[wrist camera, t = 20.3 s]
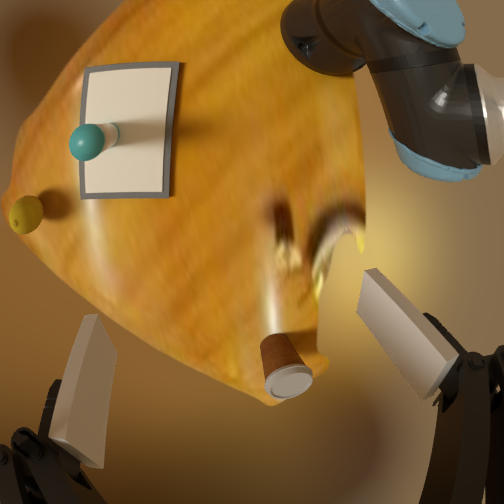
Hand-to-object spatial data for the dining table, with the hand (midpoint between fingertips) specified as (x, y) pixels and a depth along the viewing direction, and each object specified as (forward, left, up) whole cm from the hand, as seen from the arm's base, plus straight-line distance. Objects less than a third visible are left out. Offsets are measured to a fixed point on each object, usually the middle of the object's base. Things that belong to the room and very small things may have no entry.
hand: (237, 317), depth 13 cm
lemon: (+28, +4, -31) cm, 42 cm away
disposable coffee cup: (-16, +34, -31) cm, 48 cm away
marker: (+14, -7, -29) cm, 33 cm away
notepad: (+12, -7, -31) cm, 34 cm away
